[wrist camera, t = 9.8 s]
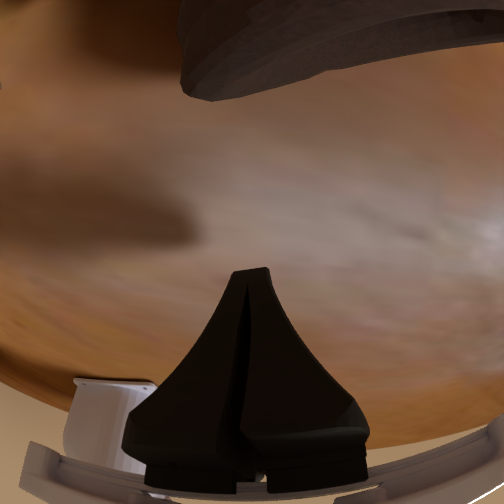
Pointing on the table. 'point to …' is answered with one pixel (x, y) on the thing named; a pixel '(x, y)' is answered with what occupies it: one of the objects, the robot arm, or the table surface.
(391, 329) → the table surface
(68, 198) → the table surface
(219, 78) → the pipe
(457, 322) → the table surface
